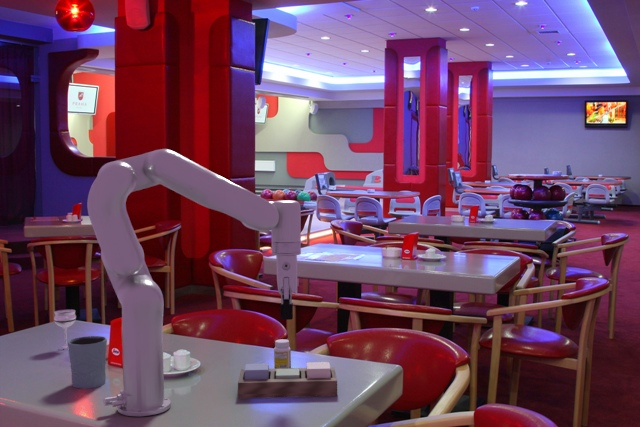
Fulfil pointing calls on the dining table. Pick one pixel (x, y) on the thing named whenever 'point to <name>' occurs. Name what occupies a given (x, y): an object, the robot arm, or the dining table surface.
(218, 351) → the dining table surface
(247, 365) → the slate key
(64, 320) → the wineglass
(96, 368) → the grey blue cup
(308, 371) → the cream key
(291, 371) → the sage key
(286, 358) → the supplement bottle
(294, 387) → the console
